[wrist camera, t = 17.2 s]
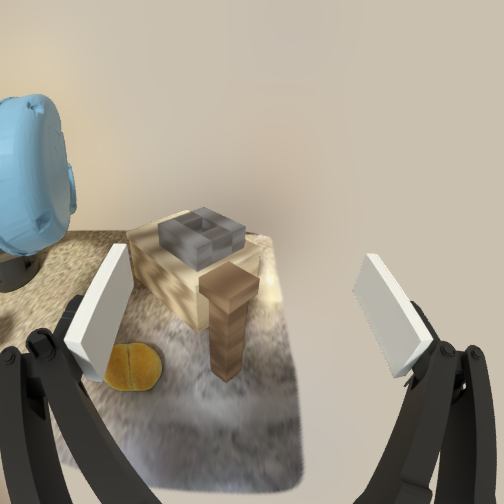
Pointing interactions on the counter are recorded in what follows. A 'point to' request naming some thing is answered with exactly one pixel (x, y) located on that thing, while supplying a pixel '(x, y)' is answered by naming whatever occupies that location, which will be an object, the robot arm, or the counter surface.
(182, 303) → the tan two-tone block
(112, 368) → the bread roll
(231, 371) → the brown t-shaped block
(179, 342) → the counter surface
